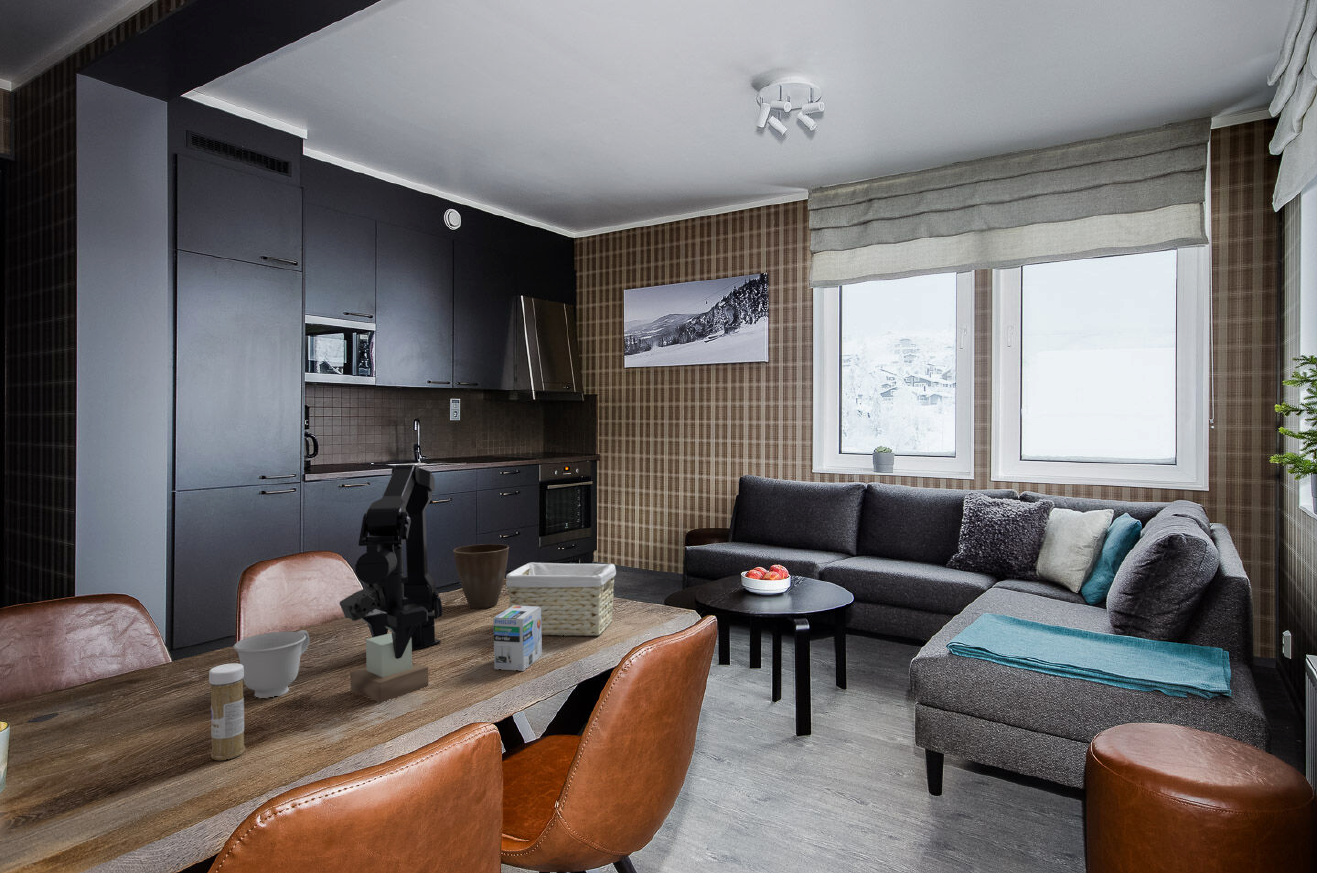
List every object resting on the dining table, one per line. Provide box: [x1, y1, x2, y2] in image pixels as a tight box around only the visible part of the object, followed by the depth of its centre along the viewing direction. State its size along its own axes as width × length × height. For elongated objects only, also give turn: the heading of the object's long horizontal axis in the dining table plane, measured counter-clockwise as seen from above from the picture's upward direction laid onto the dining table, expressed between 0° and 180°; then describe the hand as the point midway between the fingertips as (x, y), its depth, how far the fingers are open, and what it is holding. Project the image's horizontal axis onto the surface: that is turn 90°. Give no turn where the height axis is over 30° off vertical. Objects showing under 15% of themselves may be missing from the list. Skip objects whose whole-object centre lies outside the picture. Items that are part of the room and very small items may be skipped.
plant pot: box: [452, 543, 510, 609], centre depth 201 cm, size 15×15×16 cm
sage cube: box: [365, 632, 413, 677], centre depth 138 cm, size 6×6×6 cm
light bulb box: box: [492, 605, 543, 672], centre depth 152 cm, size 11×7×11 cm, turn 168°
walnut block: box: [349, 662, 429, 703], centre depth 138 cm, size 10×10×4 cm
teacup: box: [232, 629, 311, 699], centre depth 138 cm, size 12×15×10 cm
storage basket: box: [505, 561, 617, 637], centre depth 177 cm, size 24×16×15 cm
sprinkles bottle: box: [208, 662, 246, 761], centre depth 111 cm, size 5×5×14 cm
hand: (389, 654), depth 138 cm, fingers open, 7 cm apart
